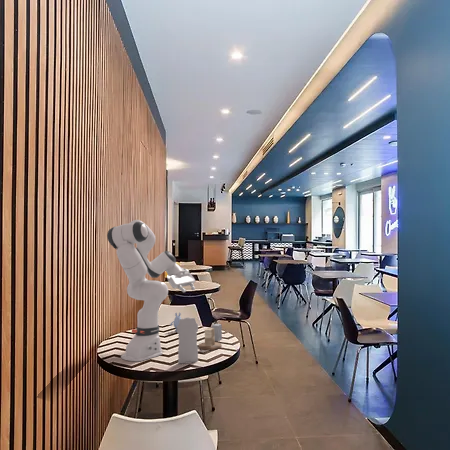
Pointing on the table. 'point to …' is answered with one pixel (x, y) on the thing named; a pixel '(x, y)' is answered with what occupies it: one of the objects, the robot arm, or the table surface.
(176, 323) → the toy figure
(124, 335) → the table surface
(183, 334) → the tall pale column
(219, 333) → the slate grey block
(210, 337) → the birch block
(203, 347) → the walnut board
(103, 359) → the table surface
